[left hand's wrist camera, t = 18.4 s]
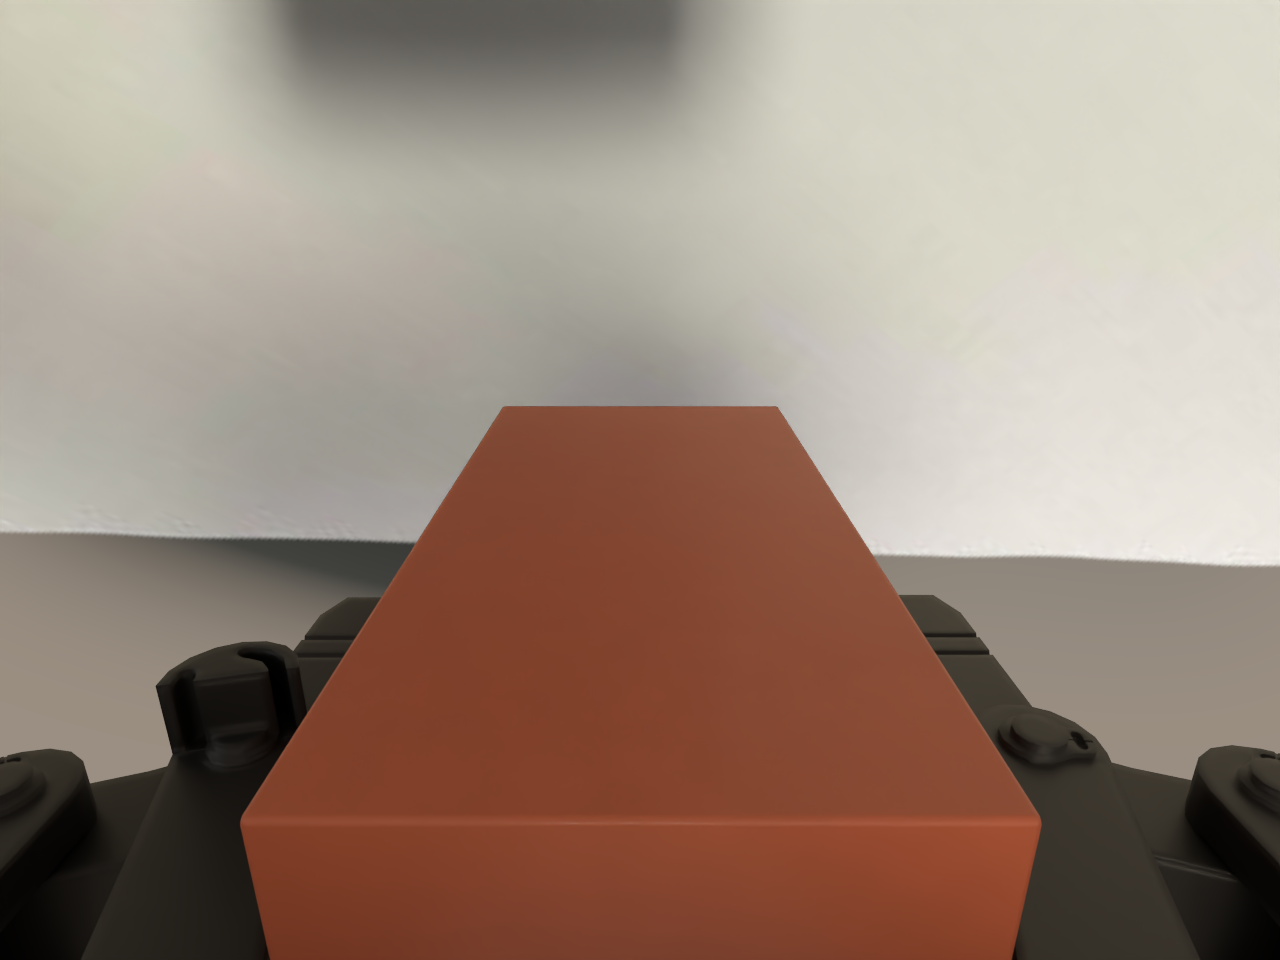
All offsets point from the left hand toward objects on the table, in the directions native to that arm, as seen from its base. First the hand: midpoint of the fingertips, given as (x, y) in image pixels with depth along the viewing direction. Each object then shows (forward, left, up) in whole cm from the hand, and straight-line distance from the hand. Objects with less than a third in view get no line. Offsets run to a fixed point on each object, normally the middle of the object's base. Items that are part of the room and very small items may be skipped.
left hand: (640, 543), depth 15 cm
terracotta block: (0, 0, -1) cm, 1 cm away
